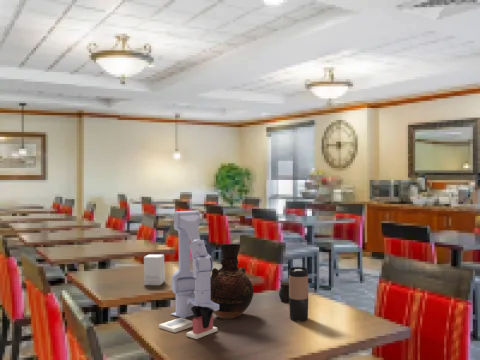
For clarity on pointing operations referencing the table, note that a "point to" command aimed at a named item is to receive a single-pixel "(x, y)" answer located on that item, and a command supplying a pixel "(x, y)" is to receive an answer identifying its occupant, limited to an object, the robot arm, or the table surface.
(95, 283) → the table surface
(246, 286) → the ceramic vessel
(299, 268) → the travel mug
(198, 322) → the stub
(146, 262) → the supplement box
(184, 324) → the white flat slab
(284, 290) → the mate gourd
